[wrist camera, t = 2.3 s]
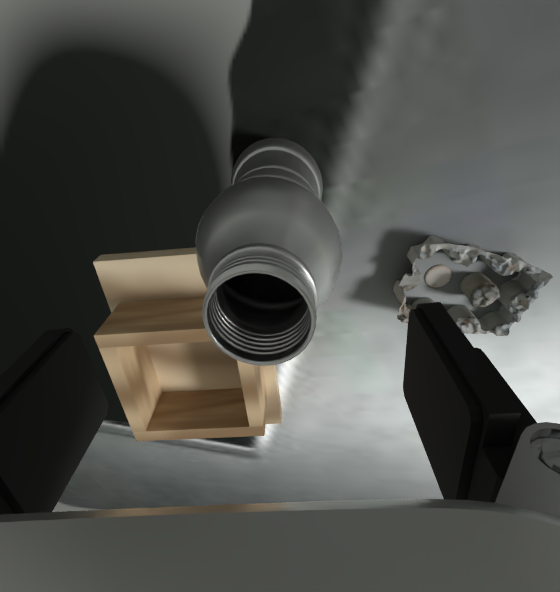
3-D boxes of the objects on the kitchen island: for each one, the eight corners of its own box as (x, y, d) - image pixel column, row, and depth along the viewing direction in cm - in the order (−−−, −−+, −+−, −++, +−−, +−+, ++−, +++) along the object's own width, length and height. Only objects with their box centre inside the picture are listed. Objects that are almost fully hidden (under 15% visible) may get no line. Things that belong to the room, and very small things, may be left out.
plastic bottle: (288, 114, 27) (283, 167, 10) (336, 193, 30) (400, 348, 12) (218, 166, 29) (107, 290, 11) (269, 236, 31) (241, 423, 14)
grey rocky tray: (382, 298, 35) (392, 323, 31) (418, 222, 31) (434, 240, 27) (487, 326, 36) (508, 353, 32) (534, 256, 32) (564, 277, 28)
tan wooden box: (100, 254, 33) (60, 290, 27) (260, 242, 32) (253, 276, 26) (158, 418, 42) (137, 469, 37) (281, 412, 41) (280, 464, 36)
